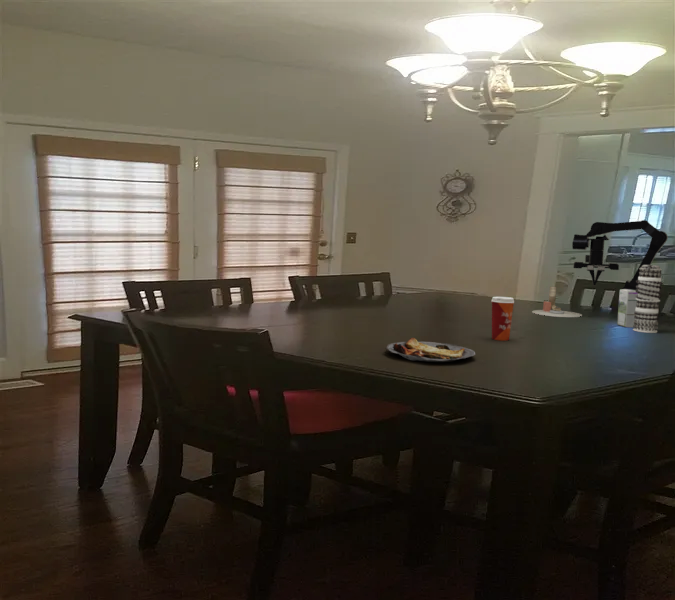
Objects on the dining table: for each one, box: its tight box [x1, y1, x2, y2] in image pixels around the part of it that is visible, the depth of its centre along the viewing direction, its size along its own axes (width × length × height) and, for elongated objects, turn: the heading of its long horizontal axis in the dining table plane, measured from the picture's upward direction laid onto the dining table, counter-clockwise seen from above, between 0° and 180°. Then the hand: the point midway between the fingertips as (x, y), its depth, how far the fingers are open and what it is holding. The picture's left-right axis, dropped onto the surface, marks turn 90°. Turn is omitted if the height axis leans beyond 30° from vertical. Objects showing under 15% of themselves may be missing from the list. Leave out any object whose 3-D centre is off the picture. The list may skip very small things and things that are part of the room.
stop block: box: [542, 300, 552, 311], centre depth 296 cm, size 3×2×4 cm
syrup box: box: [616, 288, 638, 328], centre depth 259 cm, size 6×6×14 cm
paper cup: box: [490, 296, 515, 342], centre depth 219 cm, size 8×8×14 cm
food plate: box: [385, 337, 476, 363], centre depth 188 cm, size 25×23×4 cm
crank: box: [548, 286, 562, 311], centre depth 294 cm, size 12×3×9 cm, turn 175°
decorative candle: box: [632, 264, 664, 334], centre depth 248 cm, size 9×9×25 cm
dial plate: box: [531, 309, 583, 318], centre depth 290 cm, size 21×21×1 cm
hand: (594, 285), depth 295 cm, fingers closed
